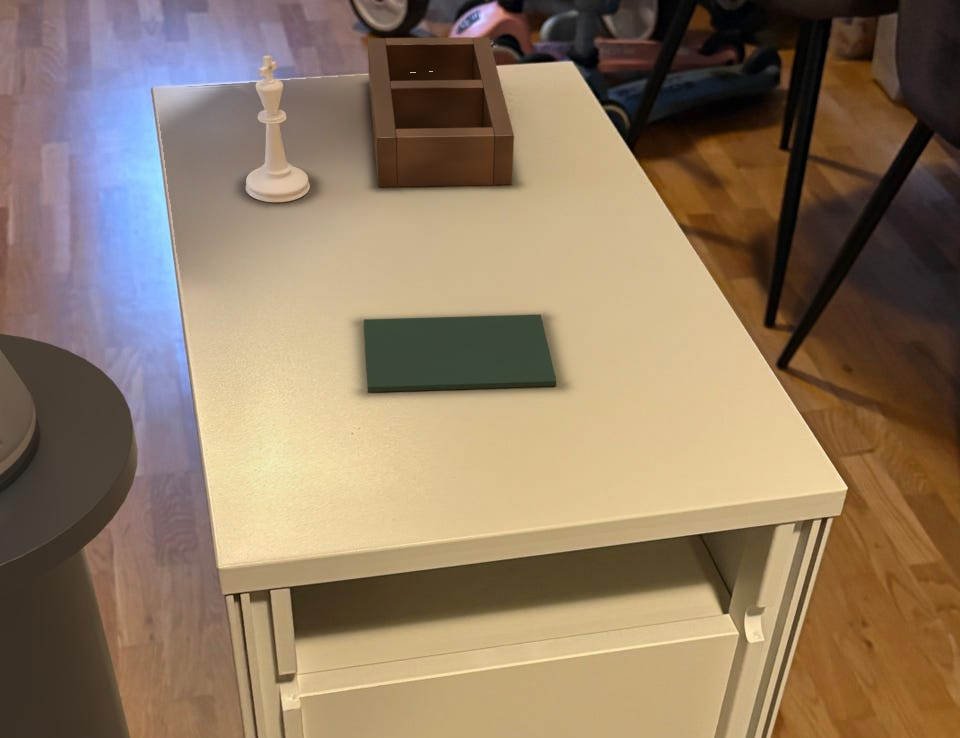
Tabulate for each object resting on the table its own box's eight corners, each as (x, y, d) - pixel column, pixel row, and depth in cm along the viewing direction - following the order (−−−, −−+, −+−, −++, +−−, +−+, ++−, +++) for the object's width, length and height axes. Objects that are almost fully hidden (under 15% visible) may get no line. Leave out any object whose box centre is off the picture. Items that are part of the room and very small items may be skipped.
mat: (368, 392, 84) (367, 387, 84) (363, 324, 90) (363, 319, 90) (556, 386, 85) (556, 380, 85) (540, 319, 91) (540, 314, 91)
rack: (378, 187, 104) (376, 137, 101) (369, 84, 118) (367, 38, 115) (512, 184, 105) (514, 135, 102) (487, 83, 119) (489, 36, 116)
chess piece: (322, 182, 104) (314, 52, 97) (286, 208, 101) (276, 75, 94) (269, 168, 106) (258, 38, 99) (233, 192, 103) (218, 61, 96)
